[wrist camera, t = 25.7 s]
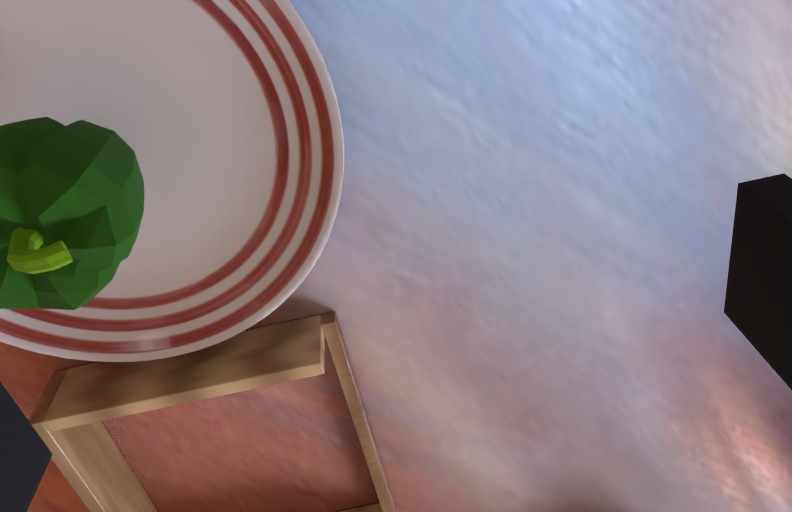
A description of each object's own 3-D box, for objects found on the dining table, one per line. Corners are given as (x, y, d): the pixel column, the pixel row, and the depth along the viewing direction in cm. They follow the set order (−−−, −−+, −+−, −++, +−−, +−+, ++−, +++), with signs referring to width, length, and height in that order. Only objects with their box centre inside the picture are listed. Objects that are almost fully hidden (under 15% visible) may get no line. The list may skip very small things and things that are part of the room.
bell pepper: (8, 231, 35) (-91, 352, 27) (-21, 83, 31) (-150, 170, 22) (168, 243, 36) (122, 361, 28) (162, 102, 32) (105, 191, 24)
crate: (335, 310, 44) (336, 359, 40) (395, 506, 56) (401, 560, 52) (53, 370, 45) (25, 425, 40) (172, 552, 56) (160, 609, 52)
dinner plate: (-249, -235, 27) (-316, -245, 24) (393, -60, 32) (399, -51, 30) (-139, 298, 40) (-174, 332, 37) (298, 354, 46) (297, 387, 43)
